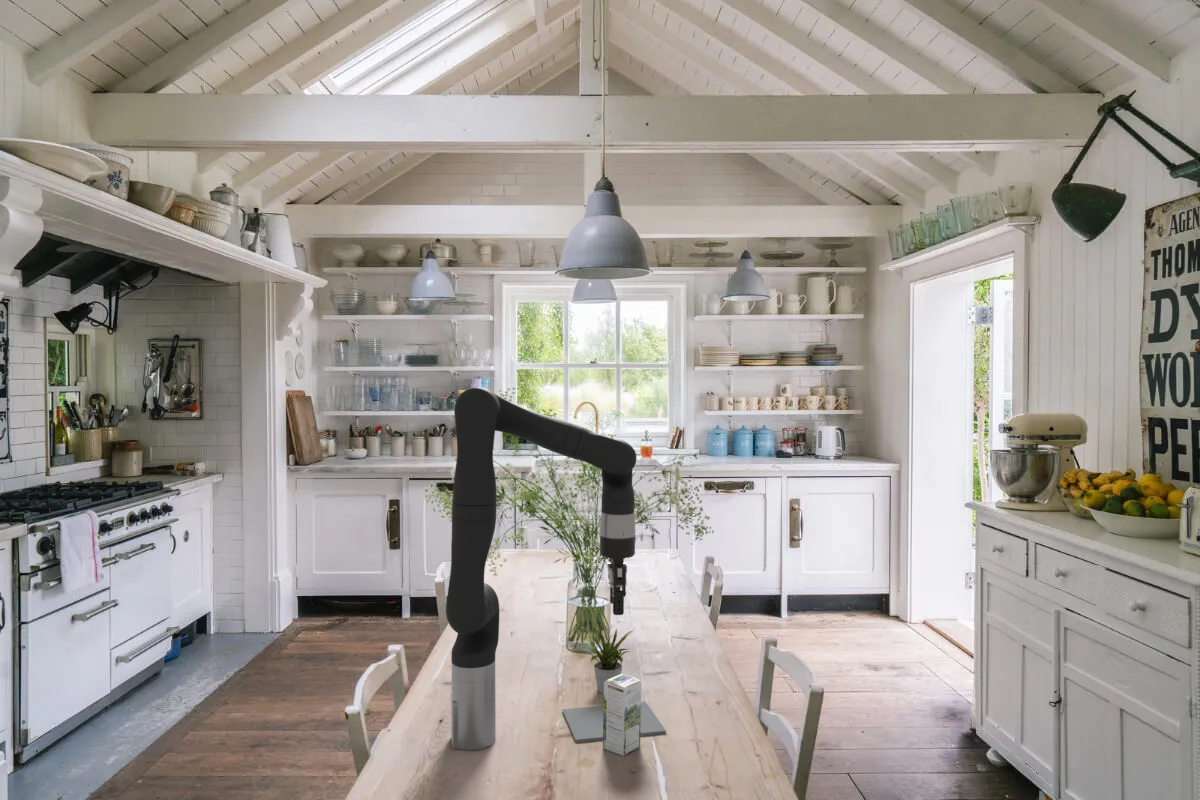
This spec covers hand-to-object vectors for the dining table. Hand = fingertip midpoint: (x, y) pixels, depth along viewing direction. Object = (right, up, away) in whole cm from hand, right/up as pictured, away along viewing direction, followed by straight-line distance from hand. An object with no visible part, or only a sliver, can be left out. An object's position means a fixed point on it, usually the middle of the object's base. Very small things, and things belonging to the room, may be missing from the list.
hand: (616, 608), depth 172 cm
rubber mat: (-1, -28, +8) cm, 29 cm away
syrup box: (+1, -28, -5) cm, 28 cm away
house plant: (-3, -27, +26) cm, 38 cm away
